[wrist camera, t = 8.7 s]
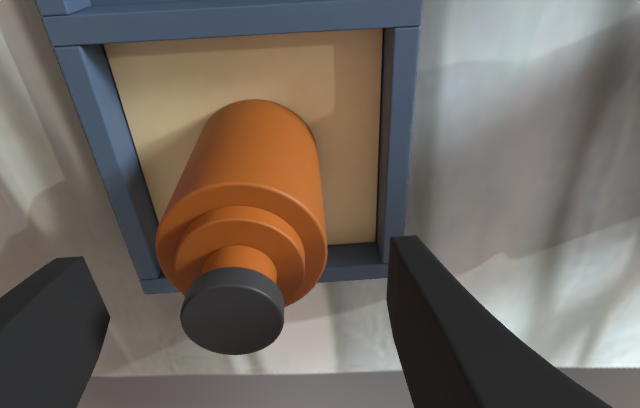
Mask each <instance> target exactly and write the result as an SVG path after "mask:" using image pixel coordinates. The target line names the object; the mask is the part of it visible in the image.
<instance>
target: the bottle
mask: <svg viewBox="0 0 640 408" xmlns="http://www.w3.org/2000/svg"><path fill="white" fill-rule="evenodd" d="M155 247H156V254H157V258H158V261H159V264H160V267H161V269H162V271H163V273H164V274H165V276H166V277H167V279H168V280H169V281H170V282H171V284H172V285H173V286H174V287H175V288H176V289H177V290H179V291H180V292H181V293H182V294H183V295H185V299H184V302H183V306H182V309H181V314H180V319H181V324H182V327H183V330H184V331H185V333H186V334H187V336H188V337H189V338H190V339H191V340H192V341H193V342H195V343H196V344H197V345H199V346H201V347H203V348H205V349H207V350H210V351H212V352H216V353H220V354H227V355H242V354H249V353H253V352H256V351H259V350H261V349H264V348H265V347H267V346H269V345H270V344H271V343H273V342H274V341H275V340H276V339H277V337H278V336H279V334H280V333H281V331H282V328H283V324H284V307H286V306H288V305H290V304H293V303H295V302H296V301H298V300H299V299H301V298H302V297H303V296H305V295H306V294H307V293H308V292H309V291H310V290H311V289H312V288H313V287H314V286H315V284H316V283H317V282H318V280H319V279H320V277H321V275H322V273H323V271H324V268H325V265H326V262H327V254H328V251H327V237H326V228H325V218H324V209H323V199H322V190H321V180H320V171H319V161H318V151H317V146H316V142H315V139H314V136H313V134H312V132H311V130H310V128H309V127H308V126H307V124H306V123H305V122H304V121H303V120H302V118H301V117H299V116H298V115H297V114H296V113H295V112H293V111H292V110H290V109H289V108H287V107H285V106H283V105H281V104H278V103H275V102H272V101H267V100H259V99H250V100H242V101H237V102H234V103H231V104H229V105H227V106H225V107H223V108H222V109H220V110H219V111H217V112H216V113H215V114H214V115H213V116H212V117H211V118H210V119H209V120H208V121H207V122H206V124H205V126H204V127H203V129H202V131H201V134H200V136H199V138H198V140H197V142H196V145H195V147H194V149H193V151H192V153H191V155H190V158H189V160H188V162H187V164H186V166H185V169H184V171H183V173H182V175H181V177H180V179H179V182H178V184H177V186H176V188H175V190H174V193H173V195H172V197H171V199H170V201H169V203H168V206H167V208H166V210H165V212H164V214H163V217H162V219H161V221H160V224H159V226H158V229H157V233H156V244H155Z"/></svg>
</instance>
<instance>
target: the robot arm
mask: <svg viewBox="0 0 640 408" xmlns="http://www.w3.org/2000/svg"><path fill="white" fill-rule="evenodd" d="M386 300H387V305H388V311H389V317H390V323H391V328H392V333H393V338H394V342H395V345H396V349H397V352H398V355H399V359H400V362H401V365H402V369H403V372H404V375H405V379H406V382H407V385H408V389H409V392H410V395H411V398H412V402H413V405H414V408H612V407H611V406H610V405H608V404H606V403H605V402H603V401H602V400H601V399H599V398H598V397H596V396H595V395H593V394H592V393H591V392H589V391H588V390H586V389H585V388H583V387H582V386H580V385H579V384H577V383H576V382H574V381H573V380H572V379H570V378H569V377H567V376H566V375H565V374H563V373H562V372H560V371H559V370H558V369H557V368H555V367H554V366H553V365H551V364H550V363H549V362H548V361H546V360H545V359H544V358H542V357H541V356H540V355H539V354H537V353H536V352H535V351H534V350H532V349H531V348H530V347H528V346H527V345H526V344H525V343H524V342H522V341H521V340H520V339H519V338H518V337H517V336H515V335H514V334H513V333H512V332H511V331H510V330H508V329H507V328H506V327H505V326H504V325H503V324H502V323H501V322H500V321H498V320H497V319H496V318H495V317H494V316H493V315H492V314H491V313H490V312H489V311H488V310H487V309H485V308H484V307H483V306H482V305H481V304H480V303H479V302H478V301H477V300H476V299H475V298H474V297H473V296H472V295H471V294H470V293H469V292H468V291H467V290H466V289H465V288H464V287H463V286H462V285H461V284H460V283H459V282H458V281H457V280H456V279H455V278H454V276H453V275H452V274H451V273H450V272H449V271H448V270H447V269H446V268H445V267H444V266H443V265H442V263H441V262H440V261H439V260H438V259H437V258H436V257H435V256H434V255H433V253H432V252H431V251H430V250H429V249H428V248H427V247H426V245H425V244H424V243H423V242H422V241H421V240H420V239H419V238H418V237H417V236H416V235H415V236H399V237H390V248H389V265H388V282H387V298H386ZM109 321H110V315H109V313H108V311H107V309H106V306H105V304H104V302H103V300H102V298H101V295H100V293H99V291H98V289H97V287H96V284H95V282H94V280H93V278H92V276H91V273H90V271H89V269H88V267H87V265H86V262H85V260H84V258H83V256H82V257H66V258H56V259H54V260H53V261H51V262H50V263H48V264H47V265H45V266H44V267H42V268H41V269H39V270H38V271H37V272H35V273H34V274H32V275H31V276H30V277H28V278H27V279H25V280H24V281H23V282H21V283H20V284H19V285H17V286H16V287H15V288H13V289H12V290H11V291H9V292H8V293H6V294H5V295H4V296H2V297H1V298H0V408H76V407H77V405H78V403H79V401H80V398H81V396H82V394H83V392H84V389H85V387H86V385H87V383H88V381H89V378H90V376H91V374H92V372H93V369H94V367H95V365H96V362H97V360H98V358H99V355H100V352H101V348H102V345H103V342H104V339H105V335H106V332H107V328H108V324H109Z"/></svg>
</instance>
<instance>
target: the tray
mask: <svg viewBox="0 0 640 408" xmlns="http://www.w3.org/2000/svg"><path fill="white" fill-rule="evenodd" d="M35 2H36V5H37V8H38V10H39V13H40V15H41V16H43V17H42V21H43V24H44V27H45V29H46V32H47V35H48V37H49V40H50V43H51V45H52V46H53V47H54V52H55V55H56V57H57V60H58V63H59V65H60V68H61V71H62V73H63V76H64V79H65V81H66V84H67V87H68V90H69V92H70V95H71V98H72V100H73V103H74V106H75V108H76V111H77V114H78V116H79V119H80V122H81V124H82V127H83V130H84V132H85V135H86V138H87V141H88V143H89V146H90V149H91V151H92V154H93V157H94V159H95V162H96V165H97V167H98V170H99V173H100V175H101V178H102V181H103V183H104V186H105V189H106V191H107V194H108V197H109V200H110V202H111V205H112V208H113V210H114V213H115V216H116V218H117V221H118V224H119V226H120V229H121V232H122V234H123V237H124V240H125V242H126V245H127V248H128V250H129V253H130V256H131V259H132V261H133V264H134V267H135V269H136V272H137V275H138V277H139V279H140V283H141V286H142V289H143V291H144V294H157V293H171V292H180V291H179V290H177V289H176V288H175V287H174V286H173V285H172V284H171V282H170V281H169V280H168V279H167V277H166V276H165V274H164V273H163V271H162V269H161V267H160V264H159V261H158V258H157V254H156V247H155V244H156V233H157V229H158V226H159V224H160V221H161V219H162V217H163V214H164V212H165V210H166V208H167V206H168V203H169V201H170V199H171V197H172V195H173V193H174V190H175V188H176V186H177V184H178V182H179V179H180V177H181V175H182V173H183V171H184V169H185V166H186V164H187V162H188V160H189V158H190V155H191V153H192V151H193V149H194V147H195V145H196V142H197V140H198V138H199V136H200V134H201V131H202V129H203V127H204V126H205V124H206V122H207V121H208V120H209V119H210V118H211V117H212V116H213V115H214V114H215V113H216V112H217V111H219V110H220V109H222V108H223V107H225V106H227V105H229V104H231V103H234V102H237V101H242V100H250V99H259V100H267V101H272V102H275V103H278V104H281V105H283V106H285V107H287V108H289V109H290V110H292V111H293V112H295V113H296V114H297V115H298V116H299V117H301V118H302V120H303V121H304V122H305V123H306V124H307V126H308V127H309V128H310V130H311V132H312V134H313V136H314V139H315V142H316V146H317V151H318V161H319V171H320V180H321V190H322V199H323V209H324V218H325V228H326V237H327V251H328V254H327V262H326V265H325V268H324V271H323V273H322V275H321V277H320V279H319V280H318V282H317V283H319V282H334V281H349V280H363V279H378V278H388V265H389V248H390V237H399V236H404V224H405V212H406V199H407V187H408V175H409V162H410V150H411V138H412V125H413V113H414V101H415V88H416V76H417V63H418V51H419V39H420V27H419V26H420V25H421V17H422V4H423V0H35Z"/></svg>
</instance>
